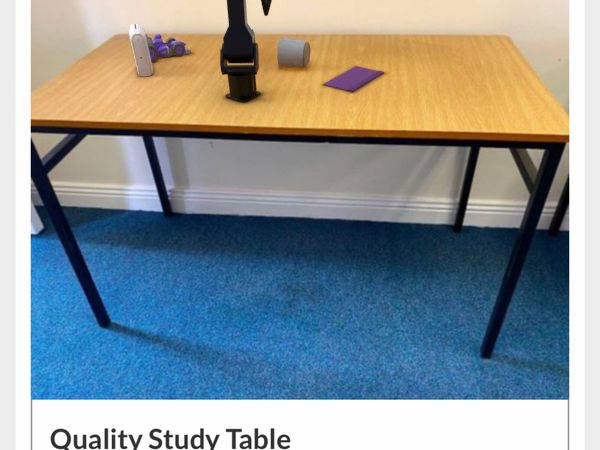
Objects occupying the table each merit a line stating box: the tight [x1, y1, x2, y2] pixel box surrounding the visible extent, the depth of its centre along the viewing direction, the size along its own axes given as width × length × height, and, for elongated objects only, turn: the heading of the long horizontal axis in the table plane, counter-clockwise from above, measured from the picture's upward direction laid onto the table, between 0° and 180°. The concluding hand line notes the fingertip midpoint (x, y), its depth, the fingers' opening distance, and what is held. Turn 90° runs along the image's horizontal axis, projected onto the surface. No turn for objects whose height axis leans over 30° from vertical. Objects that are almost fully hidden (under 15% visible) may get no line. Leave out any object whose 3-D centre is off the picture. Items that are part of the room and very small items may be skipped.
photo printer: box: [128, 23, 154, 77], centre depth 131 cm, size 10×4×12 cm, turn 17°
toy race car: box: [145, 33, 192, 64], centre depth 143 cm, size 10×15×6 cm, turn 120°
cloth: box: [322, 65, 385, 94], centre depth 126 cm, size 16×9×1 cm, turn 142°
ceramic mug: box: [276, 36, 311, 69], centre depth 133 cm, size 11×8×8 cm
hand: (255, 13), depth 135 cm, fingers open, 8 cm apart
